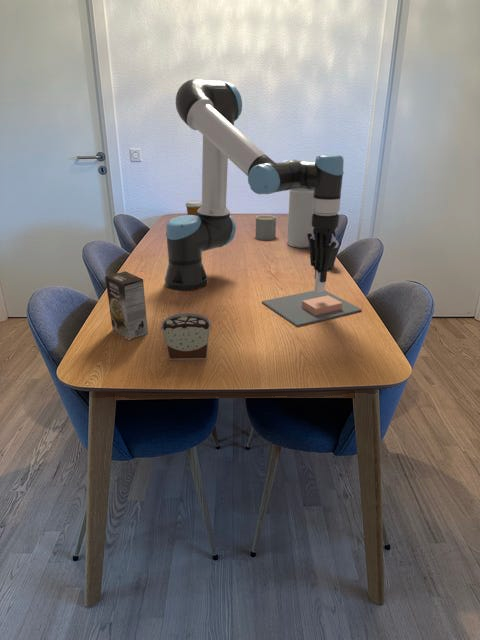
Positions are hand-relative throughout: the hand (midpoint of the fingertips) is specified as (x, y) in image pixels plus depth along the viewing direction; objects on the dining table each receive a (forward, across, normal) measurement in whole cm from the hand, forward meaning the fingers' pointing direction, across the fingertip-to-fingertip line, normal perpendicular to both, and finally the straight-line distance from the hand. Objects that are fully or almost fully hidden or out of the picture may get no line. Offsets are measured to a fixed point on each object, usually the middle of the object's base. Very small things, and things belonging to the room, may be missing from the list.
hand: (319, 290), depth 133 cm
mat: (+6, +2, +1) cm, 7 cm away
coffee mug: (+6, +86, -32) cm, 92 cm away
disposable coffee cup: (+6, +130, -12) cm, 131 cm away
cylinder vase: (+6, +65, -39) cm, 76 cm away
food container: (+6, -8, +46) cm, 47 cm away
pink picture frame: (+4, +2, 0) cm, 5 cm away
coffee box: (+6, +12, +56) cm, 58 cm away
